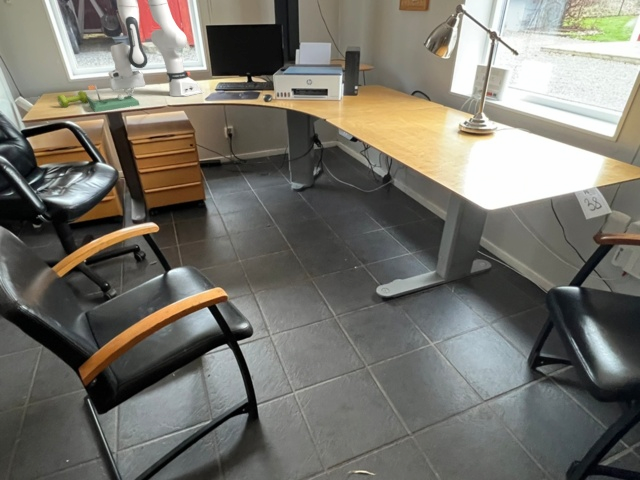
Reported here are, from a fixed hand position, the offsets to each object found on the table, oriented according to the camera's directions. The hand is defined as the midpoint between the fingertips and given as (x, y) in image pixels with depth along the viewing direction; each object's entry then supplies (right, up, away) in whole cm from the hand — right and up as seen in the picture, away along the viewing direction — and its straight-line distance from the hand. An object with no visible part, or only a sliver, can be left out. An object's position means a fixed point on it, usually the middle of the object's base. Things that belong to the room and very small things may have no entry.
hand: (130, 95), depth 240 cm
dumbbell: (-36, -6, +1) cm, 36 cm away
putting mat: (-9, -7, -3) cm, 12 cm away
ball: (-5, -2, -3) cm, 6 cm away
